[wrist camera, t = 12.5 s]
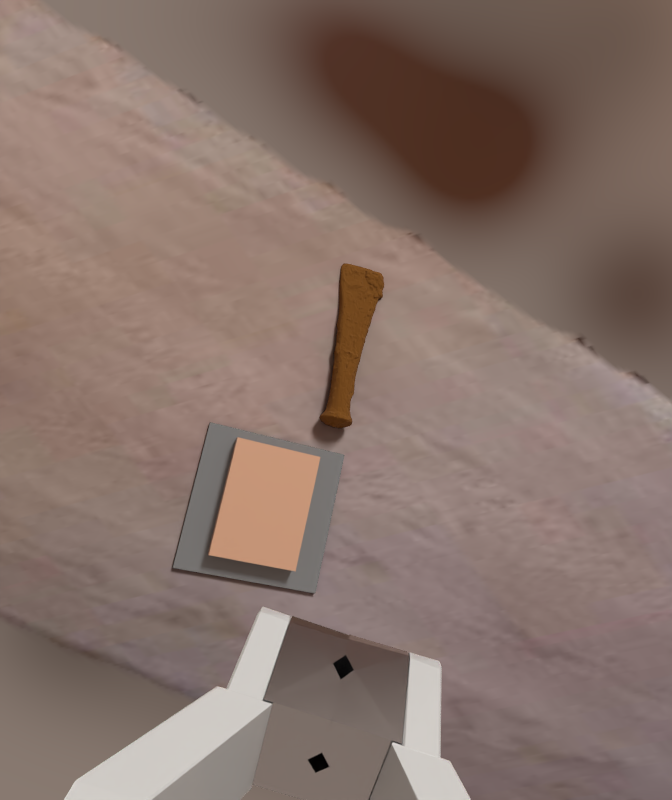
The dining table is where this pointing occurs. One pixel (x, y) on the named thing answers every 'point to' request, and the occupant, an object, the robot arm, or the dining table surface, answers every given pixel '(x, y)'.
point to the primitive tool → (350, 337)
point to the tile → (264, 505)
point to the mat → (208, 501)
